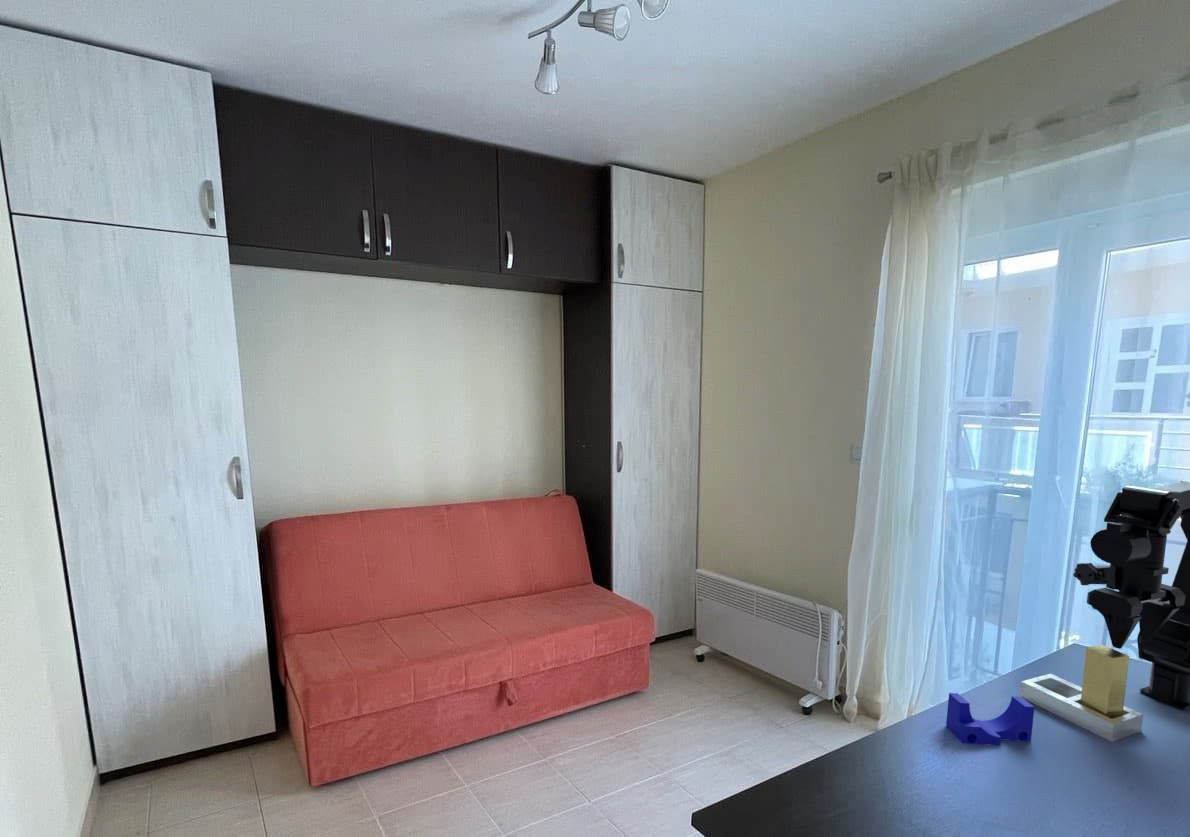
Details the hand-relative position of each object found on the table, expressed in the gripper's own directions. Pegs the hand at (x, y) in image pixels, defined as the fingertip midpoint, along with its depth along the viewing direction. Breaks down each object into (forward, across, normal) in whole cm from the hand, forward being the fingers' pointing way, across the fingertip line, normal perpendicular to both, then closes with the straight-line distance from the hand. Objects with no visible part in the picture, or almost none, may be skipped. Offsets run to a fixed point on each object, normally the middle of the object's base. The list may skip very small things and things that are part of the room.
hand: (1131, 644), depth 100 cm
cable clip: (+13, +31, -4) cm, 34 cm away
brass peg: (+13, +8, 0) cm, 15 cm away
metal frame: (+13, +8, -3) cm, 16 cm away
